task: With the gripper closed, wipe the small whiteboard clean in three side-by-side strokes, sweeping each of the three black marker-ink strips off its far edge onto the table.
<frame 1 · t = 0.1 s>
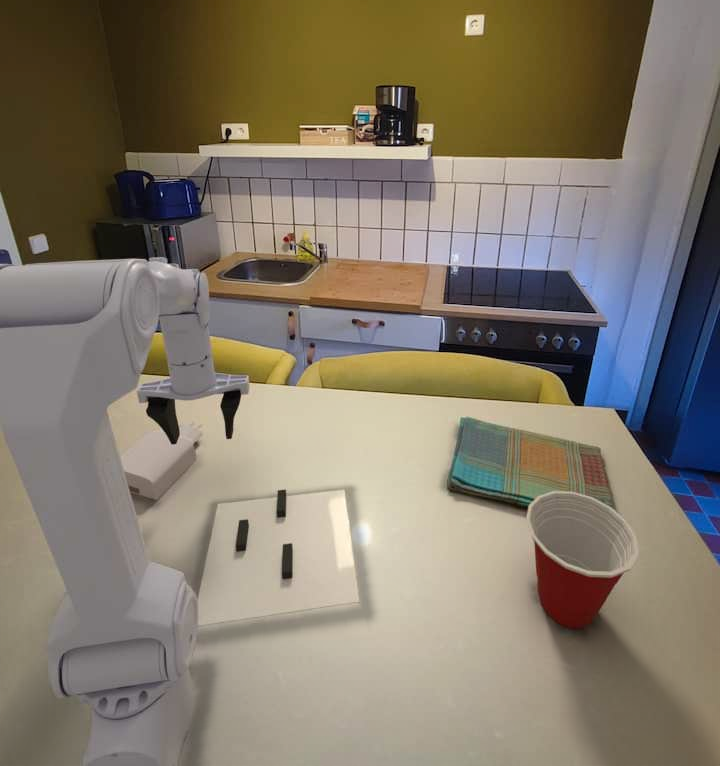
hand: (203, 437, 62), 10 cm above the table, tool pointing down, fingers open, 7 cm apart
ink strip c: (287, 564, 54), point 1 cm above the table, touching whiteboard
whiteboard: (280, 552, 56), on the table
ink strip b: (242, 538, 57), point 1 cm above the table, touching whiteboard
ink strip a: (281, 506, 62), point 1 cm above the table, touching whiteboard
dish towel: (525, 471, 70), on the table
charger: (169, 463, 71), on the table
plastic cup: (562, 602, 50), on the table
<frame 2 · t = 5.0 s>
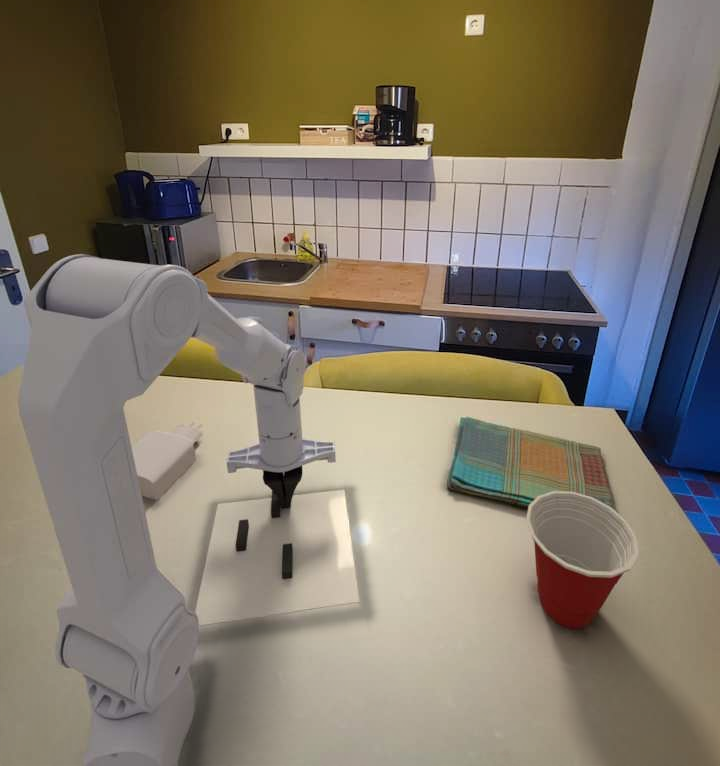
hand: (286, 502, 62), 2 cm above the table, tool pointing down, fingers closed
ink strip a: (276, 506, 62), point 1 cm above the table, touching gripper, whiteboard
everything else where it was.
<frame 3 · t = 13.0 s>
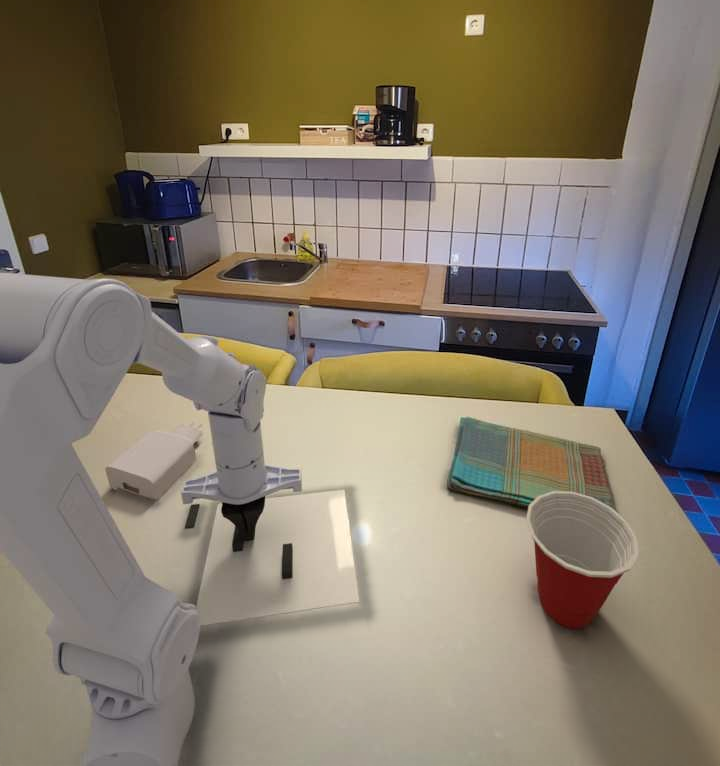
hand: (249, 534, 57), 2 cm above the table, tool pointing down, fingers closed
ink strip b: (239, 538, 57), point 1 cm above the table, touching gripper, whiteboard
ink strip a: (188, 518, 60), point 1 cm above the table, tilted 90°
everything else where it was.
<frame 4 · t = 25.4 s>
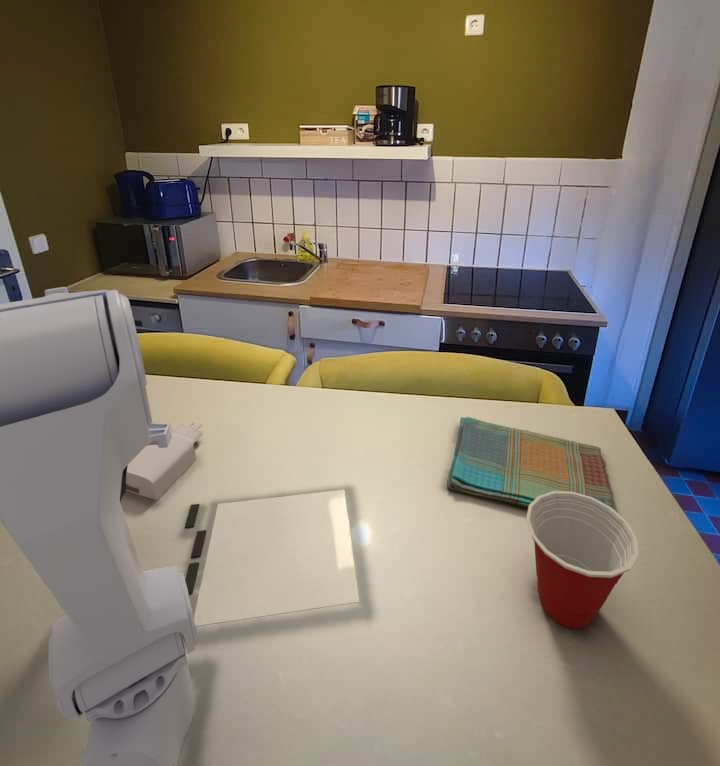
hand: (117, 496, 52), 10 cm above the table, tool pointing down, fingers closed
ink strip c: (196, 580, 52), point 1 cm above the table, tilted 90°
ink strip b: (204, 545, 56), point 1 cm above the table, tilted 90°
everything else where it was.
at the end: ink strip a point 0.6 cm above the table; ink strip b point 0.6 cm above the table; ink strip c point 0.6 cm above the table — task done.
